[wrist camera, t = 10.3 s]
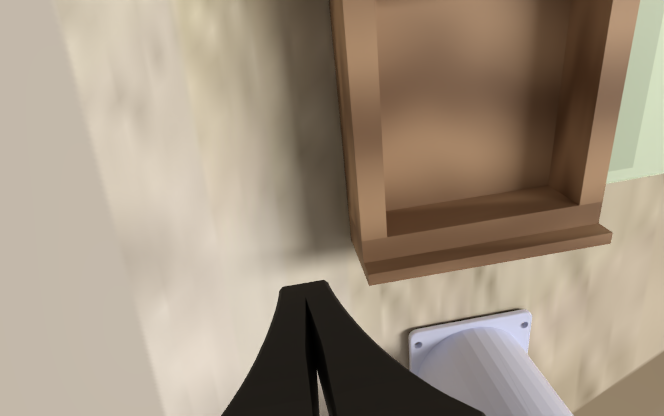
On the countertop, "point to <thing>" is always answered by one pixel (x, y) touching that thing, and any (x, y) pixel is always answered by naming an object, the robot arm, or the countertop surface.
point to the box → (476, 127)
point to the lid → (642, 101)
